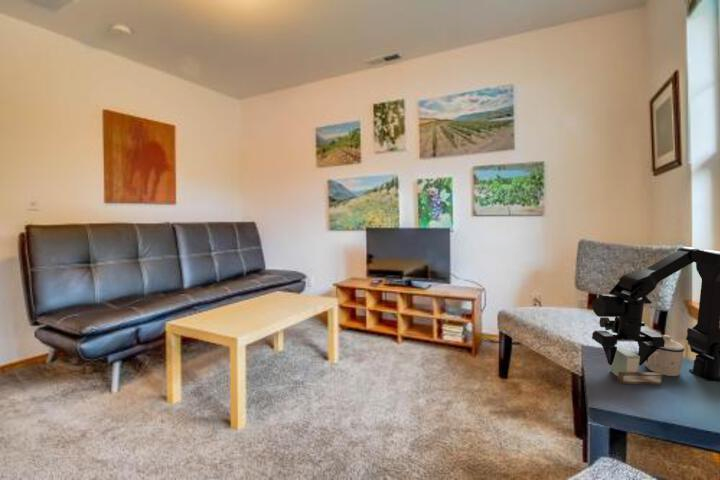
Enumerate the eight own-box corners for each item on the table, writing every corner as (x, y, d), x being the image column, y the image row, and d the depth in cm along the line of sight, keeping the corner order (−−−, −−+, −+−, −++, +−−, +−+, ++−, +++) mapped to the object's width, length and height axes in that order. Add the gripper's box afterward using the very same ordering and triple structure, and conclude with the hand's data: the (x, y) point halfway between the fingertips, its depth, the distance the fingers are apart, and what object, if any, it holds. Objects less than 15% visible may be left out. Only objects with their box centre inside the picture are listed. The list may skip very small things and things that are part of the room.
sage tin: (622, 371, 117) (625, 347, 116) (637, 381, 111) (640, 356, 110) (610, 371, 117) (612, 347, 116) (624, 381, 111) (627, 356, 110)
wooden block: (657, 381, 111) (658, 372, 111) (661, 384, 109) (662, 375, 109) (617, 381, 111) (618, 371, 111) (621, 384, 109) (622, 374, 109)
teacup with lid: (653, 361, 125) (657, 328, 123) (686, 373, 117) (691, 338, 115) (634, 368, 119) (638, 334, 118) (667, 381, 111) (672, 345, 110)
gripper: (640, 308, 119) (635, 353, 122) (583, 307, 119) (579, 352, 122) (669, 320, 108) (662, 370, 111) (606, 319, 108) (601, 369, 111)
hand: (624, 364), depth 114 cm, fingers open, 9 cm apart
